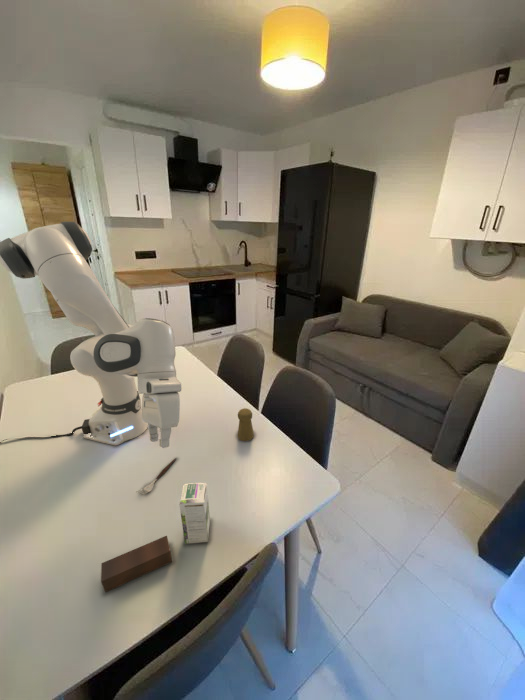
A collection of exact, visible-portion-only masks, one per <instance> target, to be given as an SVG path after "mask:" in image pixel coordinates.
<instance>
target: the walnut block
mask: <svg viewBox="0 0 525 700" xmlns="http://www.w3.org/2000/svg"><path fill="white" fill-rule="evenodd" d="M172 558H173V557H172V554H171V548H170V543H169V539H168V535H164V536H162V537H160V538H157V539H155V540H153V541H151V542H148V543H146V544H143V545H141V546H139V547H137V548H134V549H131V550H129V551H127V552H125V553H122V554H120V555H117V556H115V557H112V558H111V559H108V560H106V561H103V562H101V563H100V565H101V567H100V568H101V569H100V583H101V585H102V588H103V590H104V592H105V593H107V592H109V591H112V590H114V589H115V588H118V587H120V586H123V585H124V584H127V583H129V582H131V581H133V580H135V579H138V578H140V577H142V576H144V575H146V574H148V573H151V572H153V571H155V570H157V569H160V568H161V567H164V566H166V565H168V564H170V563H172V562H173V559H172Z"/></svg>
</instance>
